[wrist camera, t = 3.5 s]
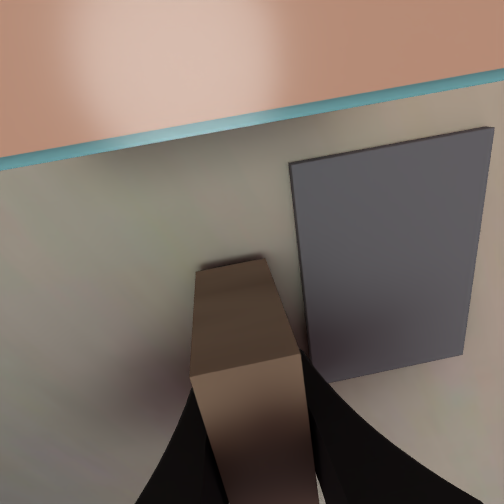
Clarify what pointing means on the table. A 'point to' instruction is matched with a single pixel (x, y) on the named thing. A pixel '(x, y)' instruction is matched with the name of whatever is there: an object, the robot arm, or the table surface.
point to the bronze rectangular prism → (251, 387)
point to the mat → (389, 250)
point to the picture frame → (221, 65)
